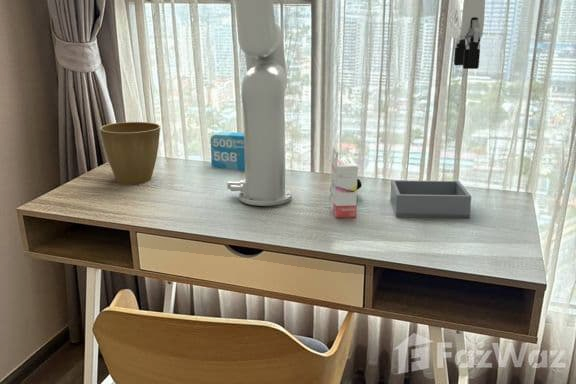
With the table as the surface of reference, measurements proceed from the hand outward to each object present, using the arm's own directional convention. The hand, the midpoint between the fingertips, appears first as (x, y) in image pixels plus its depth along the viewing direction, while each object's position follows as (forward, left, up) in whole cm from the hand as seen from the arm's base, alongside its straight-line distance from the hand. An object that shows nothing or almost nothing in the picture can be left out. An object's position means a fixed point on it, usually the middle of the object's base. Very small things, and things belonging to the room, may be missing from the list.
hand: (465, 66), depth 134 cm
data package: (-56, +24, -32) cm, 69 cm away
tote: (-7, -4, -32) cm, 33 cm away
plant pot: (-80, +11, -32) cm, 87 cm away
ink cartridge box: (-26, -7, -32) cm, 42 cm away
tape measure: (-22, +3, -30) cm, 38 cm away
